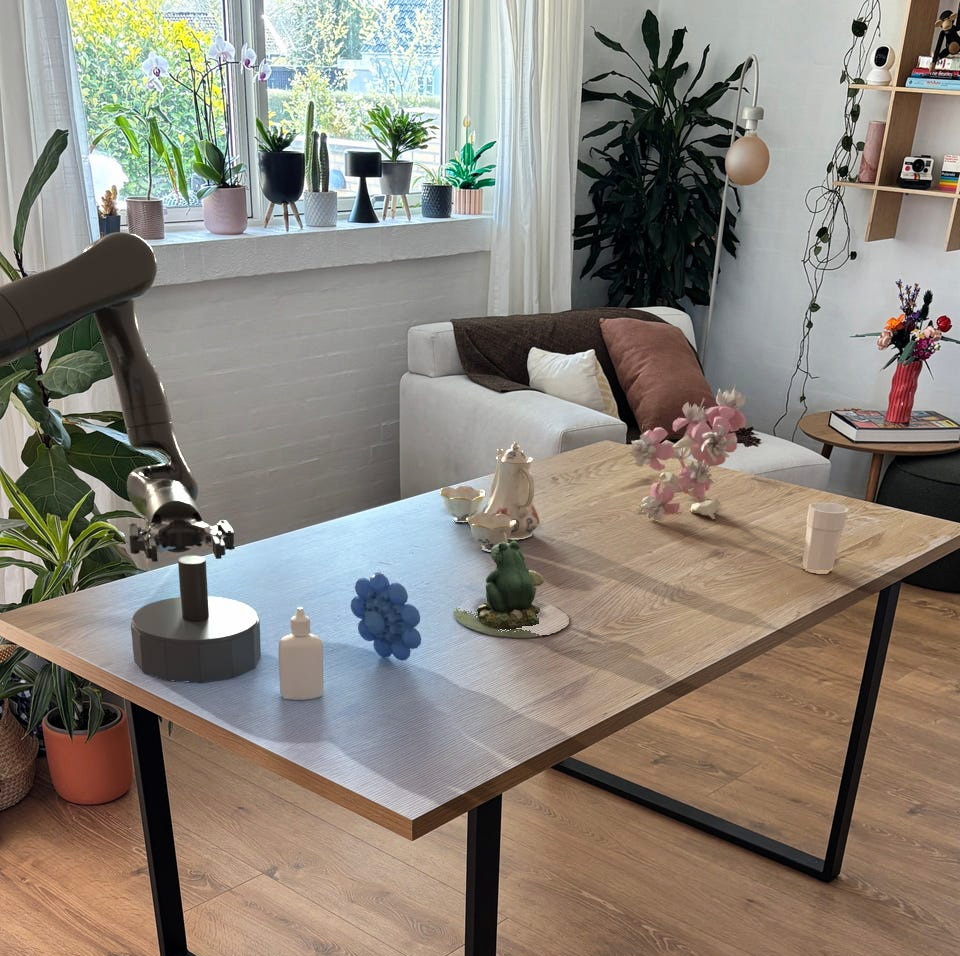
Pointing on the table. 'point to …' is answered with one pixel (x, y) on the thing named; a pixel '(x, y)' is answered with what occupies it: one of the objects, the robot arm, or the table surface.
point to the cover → (195, 632)
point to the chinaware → (498, 502)
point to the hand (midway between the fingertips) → (187, 553)
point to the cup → (823, 534)
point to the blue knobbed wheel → (386, 616)
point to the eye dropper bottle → (301, 661)
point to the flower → (696, 443)
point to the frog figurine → (506, 596)
